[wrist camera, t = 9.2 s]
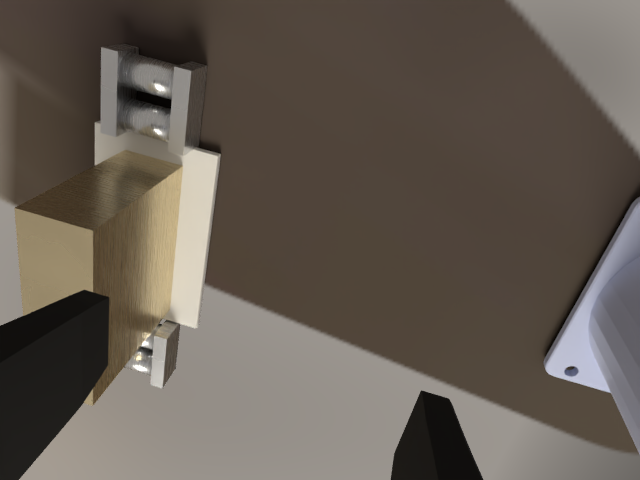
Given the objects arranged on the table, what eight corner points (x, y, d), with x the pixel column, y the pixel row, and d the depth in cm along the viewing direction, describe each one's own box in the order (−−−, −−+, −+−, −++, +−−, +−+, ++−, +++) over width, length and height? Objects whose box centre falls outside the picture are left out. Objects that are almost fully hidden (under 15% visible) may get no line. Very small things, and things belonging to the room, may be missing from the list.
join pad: (220, 153, 19) (218, 156, 19) (199, 324, 23) (196, 328, 23) (99, 120, 20) (94, 122, 19) (98, 294, 23) (94, 297, 23)
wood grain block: (183, 165, 19) (93, 230, 14) (170, 309, 23) (93, 405, 17) (124, 149, 20) (14, 208, 14) (120, 294, 23) (29, 385, 18)
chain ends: (207, 65, 18) (191, 71, 17) (175, 368, 25) (162, 388, 23) (123, 43, 18) (101, 47, 17) (114, 350, 25) (98, 368, 24)
